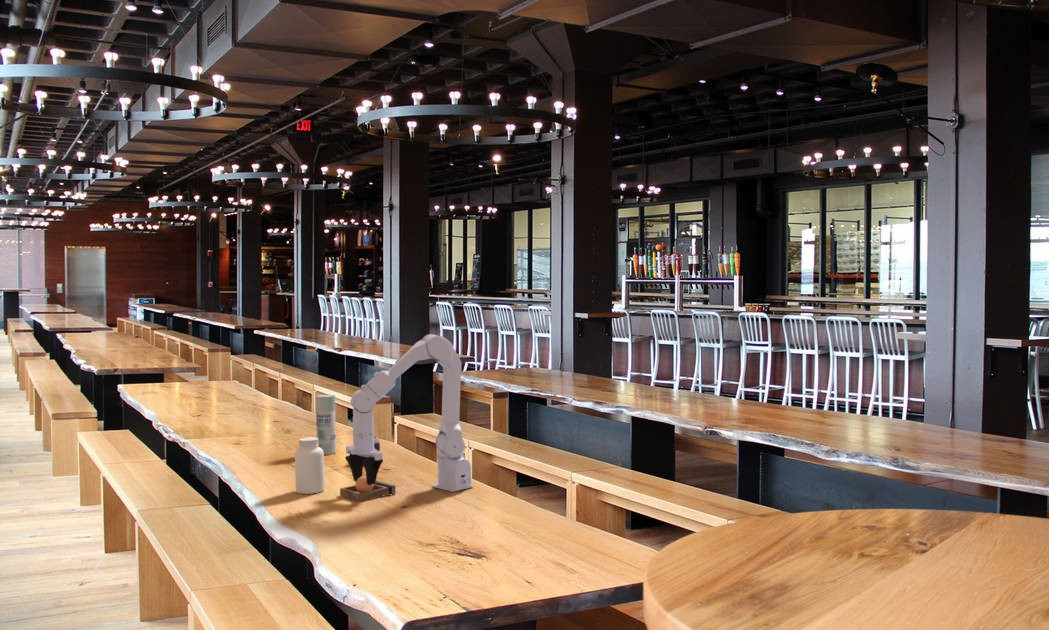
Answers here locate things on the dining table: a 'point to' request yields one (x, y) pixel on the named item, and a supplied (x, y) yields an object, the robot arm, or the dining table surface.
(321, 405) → the spray paint can
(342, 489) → the tray
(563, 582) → the dining table surface
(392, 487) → the rail
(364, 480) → the ball
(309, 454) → the pill bottle
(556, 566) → the dining table surface
